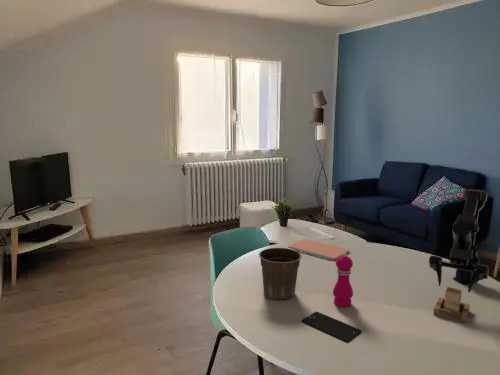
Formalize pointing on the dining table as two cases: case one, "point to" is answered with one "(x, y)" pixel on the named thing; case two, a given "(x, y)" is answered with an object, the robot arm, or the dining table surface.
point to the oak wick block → (452, 299)
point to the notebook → (318, 249)
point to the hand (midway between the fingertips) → (453, 288)
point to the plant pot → (279, 272)
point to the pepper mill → (343, 281)
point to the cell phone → (332, 326)
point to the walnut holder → (451, 314)
